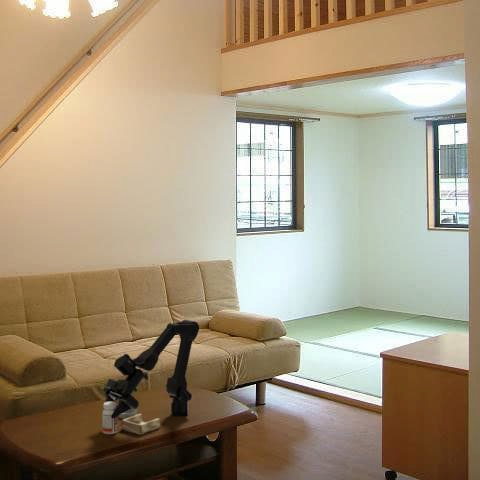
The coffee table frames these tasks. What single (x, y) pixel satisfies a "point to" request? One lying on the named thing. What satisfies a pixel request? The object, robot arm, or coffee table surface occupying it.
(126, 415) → the wristwatch
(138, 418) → the open tray
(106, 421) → the pill bottle
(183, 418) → the coffee table surface
